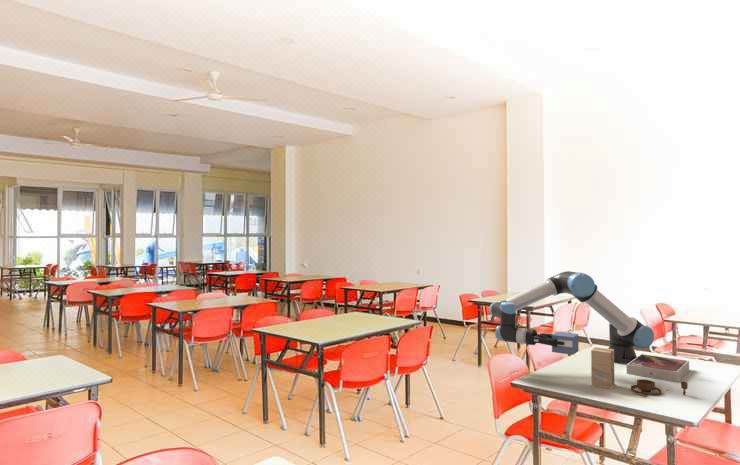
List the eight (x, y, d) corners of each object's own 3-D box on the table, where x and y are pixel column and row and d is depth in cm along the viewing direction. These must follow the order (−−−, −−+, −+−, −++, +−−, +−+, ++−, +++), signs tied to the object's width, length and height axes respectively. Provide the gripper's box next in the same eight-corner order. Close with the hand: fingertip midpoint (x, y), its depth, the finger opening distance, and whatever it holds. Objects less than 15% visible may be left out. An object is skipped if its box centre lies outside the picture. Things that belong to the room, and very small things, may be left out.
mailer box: (595, 381, 234) (595, 347, 234) (614, 384, 229) (614, 349, 229) (591, 385, 227) (591, 350, 227) (610, 388, 223) (610, 352, 223)
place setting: (640, 385, 229) (640, 372, 229) (689, 396, 213) (689, 382, 213) (623, 393, 218) (622, 379, 218) (673, 405, 202) (673, 390, 202)
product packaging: (626, 374, 246) (626, 364, 246) (641, 363, 267) (641, 354, 267) (677, 383, 232) (677, 372, 232) (689, 370, 253) (689, 360, 253)
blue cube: (557, 348, 241) (557, 331, 241) (578, 351, 235) (578, 333, 235) (552, 352, 233) (551, 334, 233) (573, 354, 227) (573, 337, 227)
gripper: (534, 340, 254) (581, 346, 240) (519, 348, 236) (568, 355, 222) (534, 325, 254) (581, 330, 240) (519, 332, 236) (568, 338, 222)
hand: (575, 342), depth 231 cm, fingers closed on blue cube, 9 cm apart
